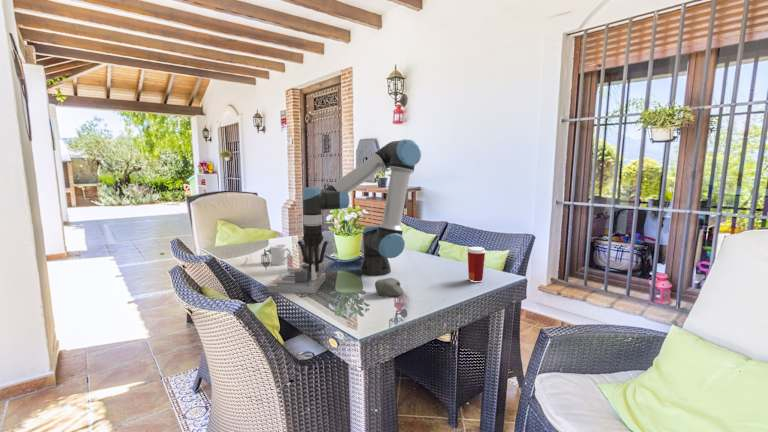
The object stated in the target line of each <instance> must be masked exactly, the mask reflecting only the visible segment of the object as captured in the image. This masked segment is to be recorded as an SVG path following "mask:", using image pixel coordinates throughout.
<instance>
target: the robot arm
mask: <svg viewBox="0 0 768 432" xmlns="http://www.w3.org/2000/svg"><path fill="white" fill-rule="evenodd" d="M421 158H422V150H421V147H420V146H419V144H418V143H417V142H416V141H415V140H412V139H401V140H400V139H399V140H393V141H391V142H390V141H389V142H388V143H386V144H384V146H382V147H381V148H379V149H378V150H376V151H375V152H374V153H372V156H371V157H370V158H369V159H367V160H365V162H362V164H359V166H357V167H355V168H354V169H352V170H350V171H349V172H348V173H346V174H345V175H343V176H342V177H341V178H339V179H338V180H336V181H335V182H333V183H331V185H329V186H327V187H325V188H324V189H321V188H320V187H319V186H318V187H304V188H303V190H302V199H301V200H302V208H303V209H302V213H303V214H302V215H303V216H302V218H303V220H302V221H303V236H302V239H299V240H298V241H297V244H298V246H299V247H300V250H301V251H300V252H301V254H302V260H303V259H304V262H303V263H307V264H309V271H310V272H312V280H316V279H317V272H318V273H319V271H320V265H321V264H322V263H323V261H324V259H325V253H326V251H327V250H326V249H327V245H328V244H329V240H327V239H325V238H324V236H323V225H322V223H323V221H322V217H323V216H322V214H323V213H322V210H323V211H324V210H342V209H347V208H349V206H350V196H349V193H350V192H352V191H353V190H354V189H356V188H357V187H359V186H360V185H361V184H364V182H366V181H367V180H369V179H370V178H372V177H373V176H375V175H376V174H378V173H379V172H381V171H383V172H384V171H386V170H387V169H389V170H390V177H389V183H388V188H387V195H386V200H385V205H384V210H383V215H382V216H383V217H382V222H381V223H380V224H378V225H372V226H371V225H370V226H365V227H364V228H363V231H362V241H363V245H362V247H363V249H362V250H363V257H362V261H361V265H360V268H359V270H360V273H361V274H363V275H365V276H385V275H388V274H389V273H391V270H392V269H391V264H390V262H389V259H395V258H398V256H400V255H401V254H402V253H403V252H404V250H405V245H406V243H405V239H404V237H403V232H404V230H403V228H402V226H401V225H402V220H403V214H404V208H405V202H406V196H407V192H408V187H409V182H410V176H411V174H412V173H414V171H415V167H416V165H417V164H418V163H419V162H420V161H421ZM304 241H305V243H306V244H307V245H308V256H307V252H306V249H305V244H304ZM321 242H322V243H321ZM320 243H321V255H320V259H319V244H320ZM313 246H314V255H315V264H313ZM308 257H309V260H308Z"/></svg>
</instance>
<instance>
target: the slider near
mask: <svg viewBox="0 0 768 432" xmlns="http://www.w3.org/2000/svg"><path fill="white" fill-rule="evenodd" d="M294 271H295V282H305V283H306V282H307V281H308V276H307V269H303V268H302V267H300V268H298V269H296V270H294Z"/></svg>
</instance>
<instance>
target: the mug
mask: <svg viewBox="0 0 768 432" xmlns="http://www.w3.org/2000/svg"><path fill="white" fill-rule="evenodd" d="M287 251H288V253H287ZM291 255H292V250H291V249H290V248H288V247H287V245H286V244H281V243H280V244H273V245H271V246H270V256H271V265H272V266H283V265H287V264H288V259H289V258H291Z"/></svg>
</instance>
